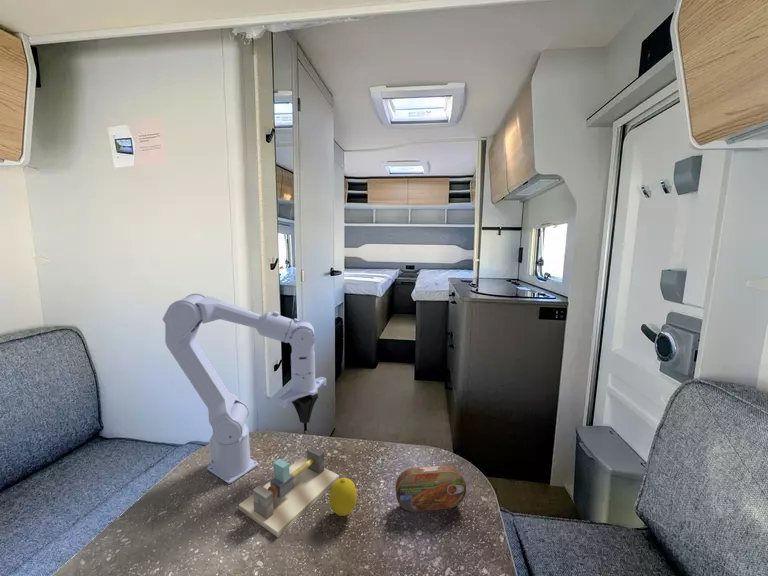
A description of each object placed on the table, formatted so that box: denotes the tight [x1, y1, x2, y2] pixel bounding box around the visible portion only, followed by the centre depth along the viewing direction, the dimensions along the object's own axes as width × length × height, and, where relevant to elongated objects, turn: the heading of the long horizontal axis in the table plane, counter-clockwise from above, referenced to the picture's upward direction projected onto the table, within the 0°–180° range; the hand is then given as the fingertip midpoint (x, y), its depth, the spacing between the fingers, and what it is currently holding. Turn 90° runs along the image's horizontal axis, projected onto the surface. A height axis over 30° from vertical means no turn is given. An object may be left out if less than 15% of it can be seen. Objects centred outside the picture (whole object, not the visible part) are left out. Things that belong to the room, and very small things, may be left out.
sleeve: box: [269, 458, 294, 499], centre depth 70 cm, size 4×3×6 cm
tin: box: [395, 465, 467, 513], centre depth 70 cm, size 15×3×8 cm, turn 96°
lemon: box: [329, 477, 358, 517], centre depth 67 cm, size 6×6×8 cm
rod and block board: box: [238, 446, 340, 538], centre depth 72 cm, size 18×12×6 cm, turn 148°
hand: (304, 421), depth 83 cm, fingers closed
